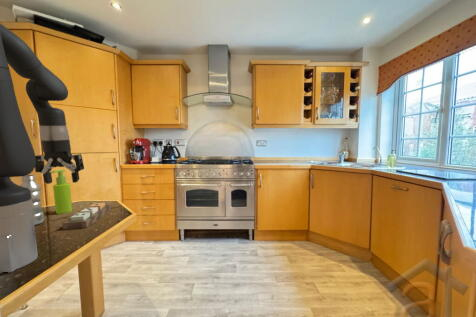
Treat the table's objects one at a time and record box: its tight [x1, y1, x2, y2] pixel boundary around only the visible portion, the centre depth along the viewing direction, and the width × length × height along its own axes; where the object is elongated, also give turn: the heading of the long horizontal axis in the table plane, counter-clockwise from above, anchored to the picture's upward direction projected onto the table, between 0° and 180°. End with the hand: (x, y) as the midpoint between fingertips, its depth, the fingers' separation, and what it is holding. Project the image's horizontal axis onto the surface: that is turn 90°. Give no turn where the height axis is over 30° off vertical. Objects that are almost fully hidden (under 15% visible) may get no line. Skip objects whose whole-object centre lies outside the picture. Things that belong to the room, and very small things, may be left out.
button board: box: [62, 204, 112, 230], centre depth 88 cm, size 21×8×2 cm, turn 10°
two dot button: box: [70, 212, 90, 221], centre depth 81 cm, size 4×4×3 cm
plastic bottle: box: [19, 174, 45, 226], centre depth 81 cm, size 6×7×20 cm
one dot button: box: [88, 202, 106, 209], centre depth 94 cm, size 4×4×3 cm
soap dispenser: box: [50, 169, 73, 215], centre depth 95 cm, size 6×7×20 cm
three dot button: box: [79, 207, 98, 214], centre depth 87 cm, size 4×4×3 cm
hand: (62, 182), depth 75 cm, fingers open, 8 cm apart
